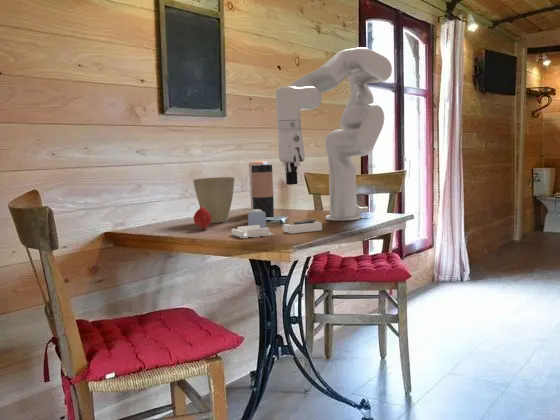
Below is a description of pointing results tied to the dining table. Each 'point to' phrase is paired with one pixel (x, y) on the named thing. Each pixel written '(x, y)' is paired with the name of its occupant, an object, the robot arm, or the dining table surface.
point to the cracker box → (251, 176)
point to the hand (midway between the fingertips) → (291, 184)
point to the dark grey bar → (304, 222)
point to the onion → (202, 218)
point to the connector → (257, 218)
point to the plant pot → (215, 196)
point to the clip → (303, 227)
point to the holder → (251, 231)
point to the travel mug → (263, 189)
